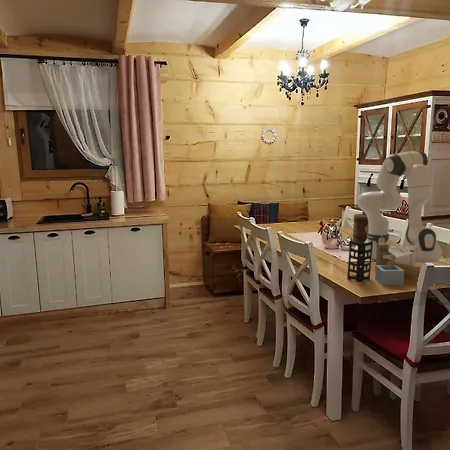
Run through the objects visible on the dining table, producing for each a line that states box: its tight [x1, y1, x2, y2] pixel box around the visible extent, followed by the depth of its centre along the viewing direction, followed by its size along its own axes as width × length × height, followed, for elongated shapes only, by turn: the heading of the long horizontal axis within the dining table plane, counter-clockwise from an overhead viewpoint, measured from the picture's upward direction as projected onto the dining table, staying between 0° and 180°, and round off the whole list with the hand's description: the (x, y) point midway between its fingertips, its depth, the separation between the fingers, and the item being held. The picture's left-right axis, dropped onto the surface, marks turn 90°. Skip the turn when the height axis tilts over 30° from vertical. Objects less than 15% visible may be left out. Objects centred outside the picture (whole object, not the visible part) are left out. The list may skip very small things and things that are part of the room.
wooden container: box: [352, 210, 369, 243], centre depth 292 cm, size 15×15×22 cm
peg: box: [375, 243, 389, 266], centre depth 214 cm, size 4×4×16 cm
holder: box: [346, 240, 373, 282], centre depth 206 cm, size 11×8×20 cm
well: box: [374, 264, 405, 286], centre depth 202 cm, size 10×10×7 cm
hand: (380, 255), depth 214 cm, fingers closed on peg, 4 cm apart
